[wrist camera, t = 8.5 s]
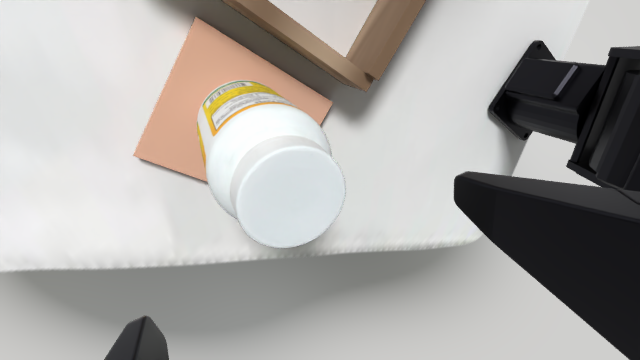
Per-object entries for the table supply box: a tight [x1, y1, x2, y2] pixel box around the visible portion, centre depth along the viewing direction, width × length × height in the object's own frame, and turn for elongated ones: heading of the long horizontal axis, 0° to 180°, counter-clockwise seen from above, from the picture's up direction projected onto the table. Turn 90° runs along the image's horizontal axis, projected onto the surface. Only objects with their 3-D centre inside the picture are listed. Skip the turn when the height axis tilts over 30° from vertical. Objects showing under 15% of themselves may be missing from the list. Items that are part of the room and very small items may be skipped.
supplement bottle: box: [197, 80, 346, 248], centre depth 15 cm, size 5×5×10 cm
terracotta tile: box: [133, 17, 333, 182], centre depth 19 cm, size 9×8×1 cm
